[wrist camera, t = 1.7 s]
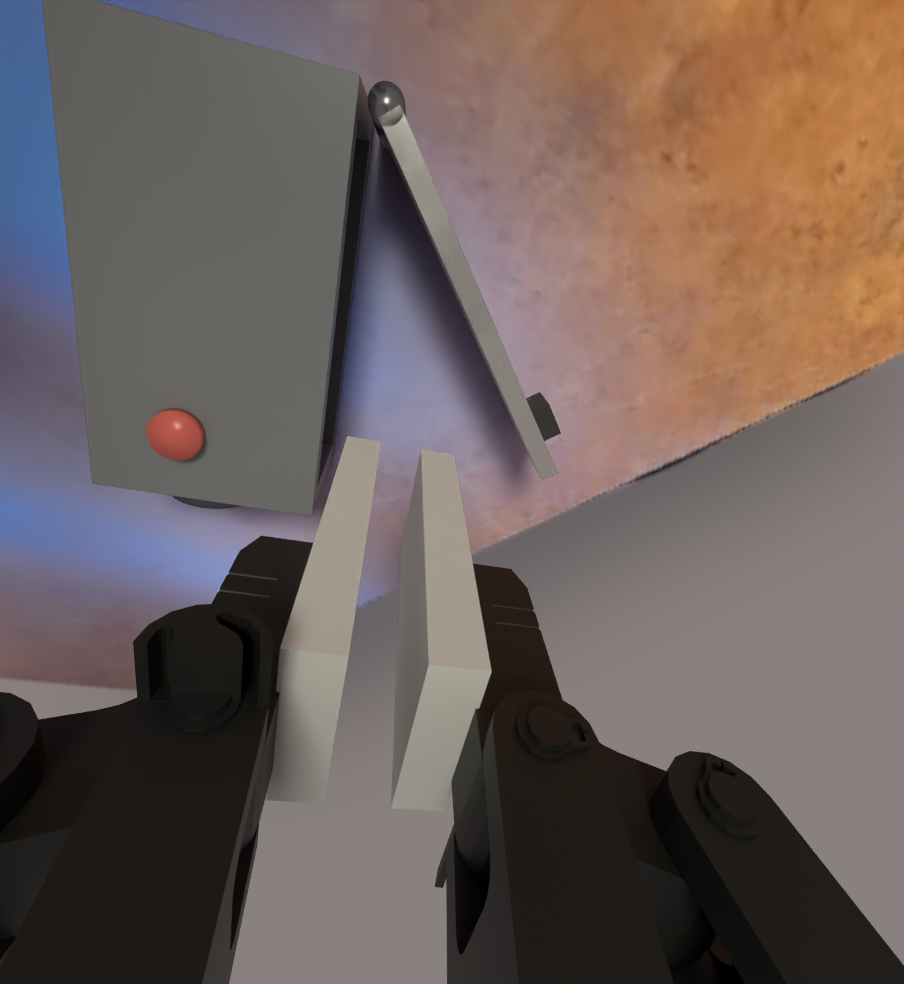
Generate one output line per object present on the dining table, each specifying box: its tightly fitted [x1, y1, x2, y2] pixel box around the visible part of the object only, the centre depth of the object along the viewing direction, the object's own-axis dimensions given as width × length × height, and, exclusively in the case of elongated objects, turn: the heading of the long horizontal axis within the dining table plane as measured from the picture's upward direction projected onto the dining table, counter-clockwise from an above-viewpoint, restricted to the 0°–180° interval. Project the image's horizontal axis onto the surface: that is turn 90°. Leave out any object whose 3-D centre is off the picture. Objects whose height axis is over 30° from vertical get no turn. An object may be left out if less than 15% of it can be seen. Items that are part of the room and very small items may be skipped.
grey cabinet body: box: [42, 0, 374, 516], centre depth 22 cm, size 17×9×8 cm, turn 168°
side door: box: [367, 81, 561, 481], centre depth 23 cm, size 16×2×6 cm, turn 26°
